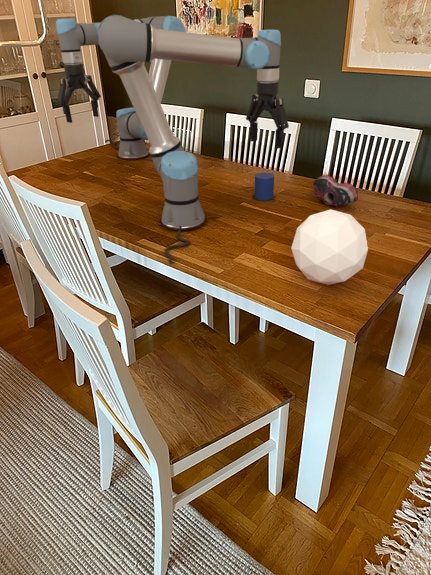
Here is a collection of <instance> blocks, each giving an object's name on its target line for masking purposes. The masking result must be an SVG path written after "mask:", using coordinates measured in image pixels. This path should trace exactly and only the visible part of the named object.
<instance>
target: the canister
mask: <svg viewBox="0 0 431 575" xmlns="http://www.w3.org/2000/svg"><path fill="white" fill-rule="evenodd" d="M274 191H275V174H274V173H272V172H258V173H256V174H254V196H253V197H254V199H256V200H258V201H270V200H273V199H274V193H275V192H274Z"/></svg>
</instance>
